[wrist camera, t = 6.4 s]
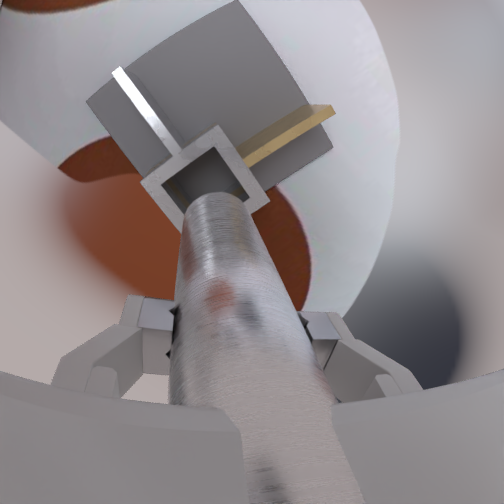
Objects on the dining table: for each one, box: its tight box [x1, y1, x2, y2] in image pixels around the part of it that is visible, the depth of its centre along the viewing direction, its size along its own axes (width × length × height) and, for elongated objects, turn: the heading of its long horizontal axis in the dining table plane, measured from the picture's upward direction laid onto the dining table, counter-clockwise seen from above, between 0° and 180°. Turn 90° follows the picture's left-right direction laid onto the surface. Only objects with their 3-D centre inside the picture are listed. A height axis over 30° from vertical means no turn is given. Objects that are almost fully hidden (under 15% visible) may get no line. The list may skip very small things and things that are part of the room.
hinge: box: [111, 66, 336, 234], centre depth 29 cm, size 19×19×8 cm
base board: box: [86, 0, 333, 201], centre depth 33 cm, size 22×21×1 cm
